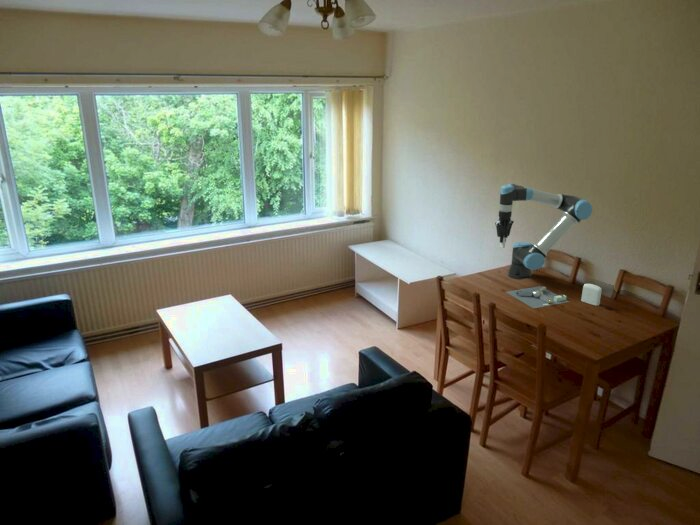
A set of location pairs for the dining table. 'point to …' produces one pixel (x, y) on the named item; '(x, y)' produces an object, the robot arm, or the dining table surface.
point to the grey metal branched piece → (535, 294)
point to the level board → (537, 301)
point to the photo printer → (591, 294)
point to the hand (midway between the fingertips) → (502, 247)
